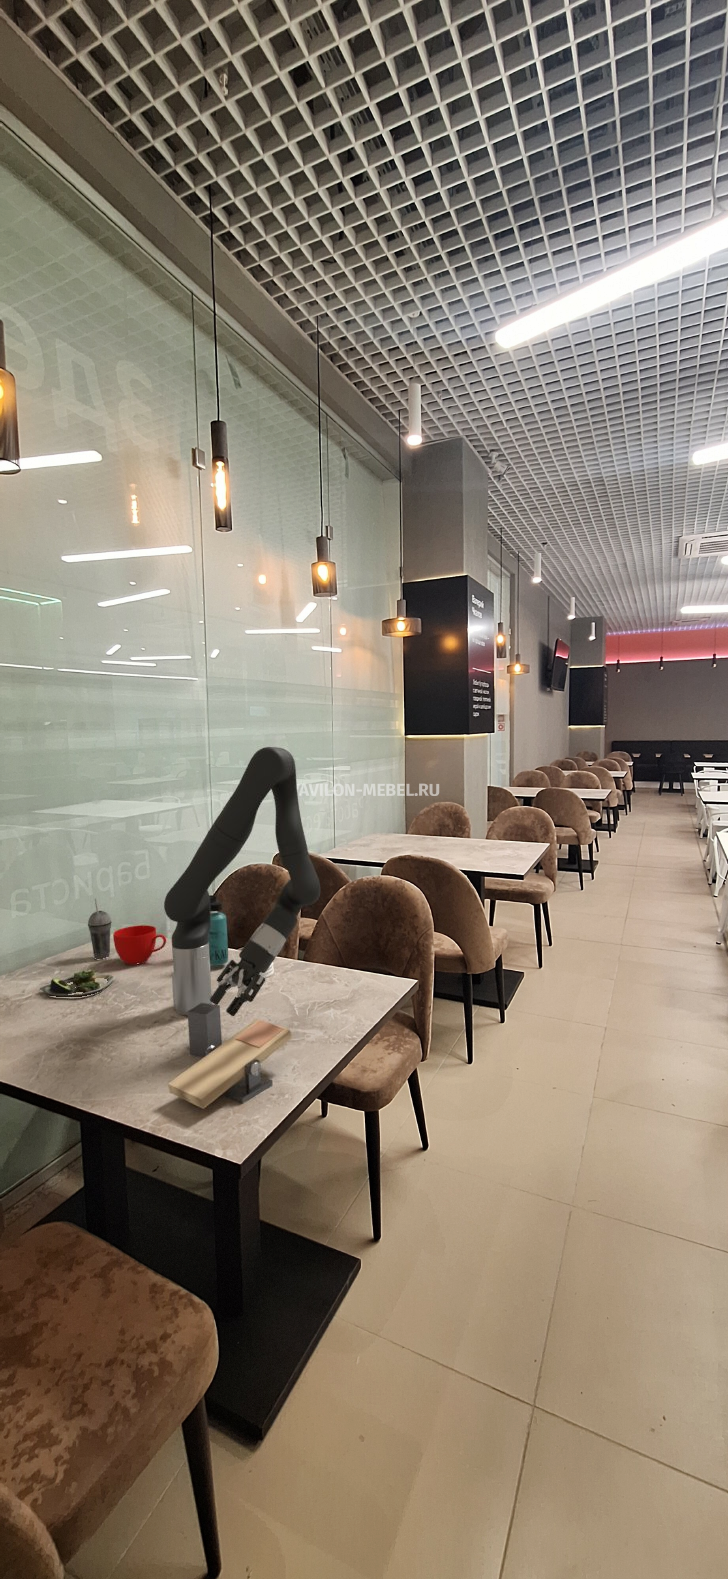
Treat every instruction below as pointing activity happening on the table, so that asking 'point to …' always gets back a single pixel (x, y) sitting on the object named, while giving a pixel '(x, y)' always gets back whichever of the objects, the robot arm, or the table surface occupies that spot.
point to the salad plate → (77, 984)
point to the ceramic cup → (136, 943)
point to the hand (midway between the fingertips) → (221, 1008)
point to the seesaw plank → (228, 1063)
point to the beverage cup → (100, 933)
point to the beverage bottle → (218, 936)
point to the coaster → (268, 971)
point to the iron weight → (204, 1028)
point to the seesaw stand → (246, 1081)
